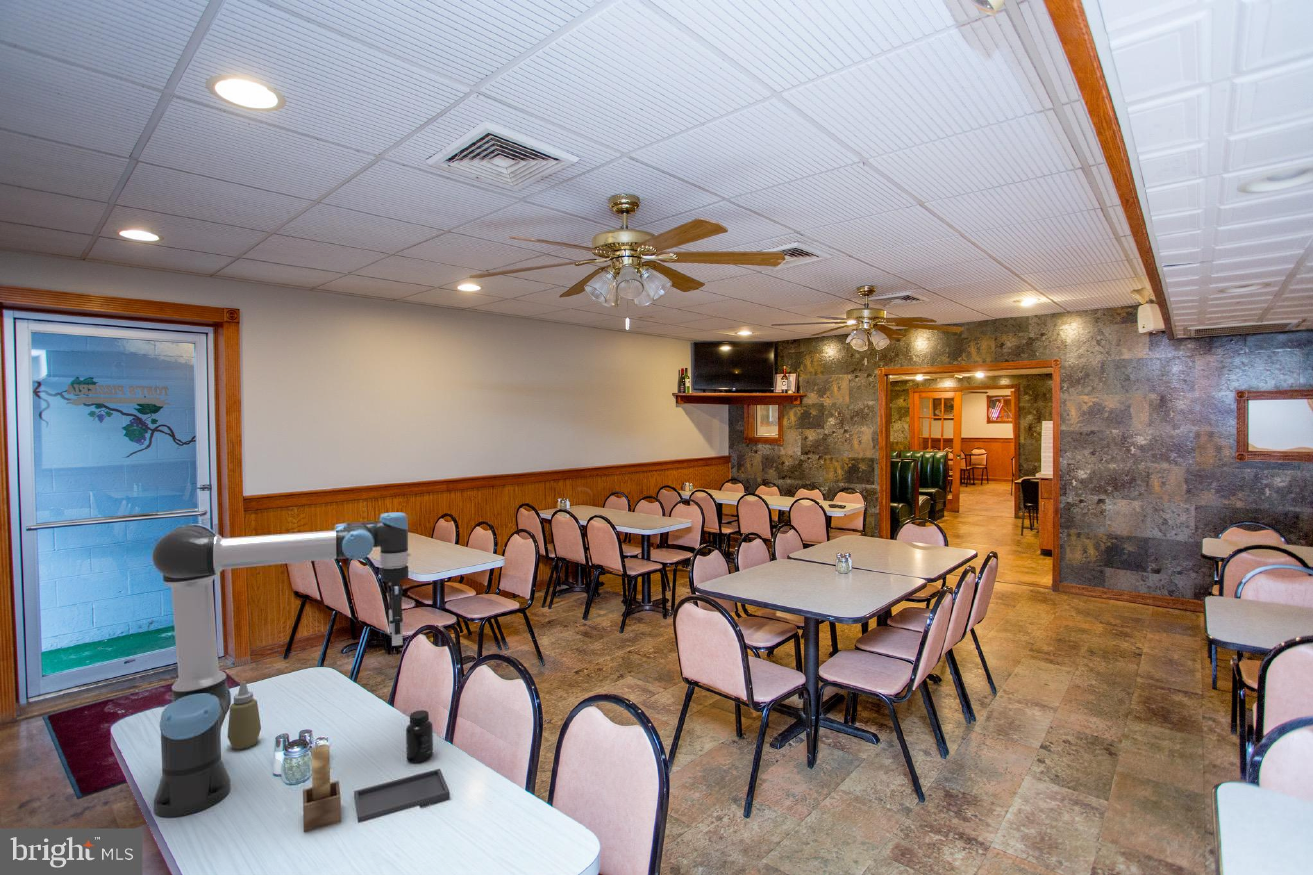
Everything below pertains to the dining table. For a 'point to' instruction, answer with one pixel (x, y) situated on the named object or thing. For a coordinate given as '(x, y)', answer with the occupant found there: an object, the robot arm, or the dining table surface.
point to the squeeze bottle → (243, 719)
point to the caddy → (321, 808)
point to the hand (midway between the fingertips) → (395, 638)
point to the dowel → (320, 772)
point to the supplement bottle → (419, 737)
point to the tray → (401, 795)
